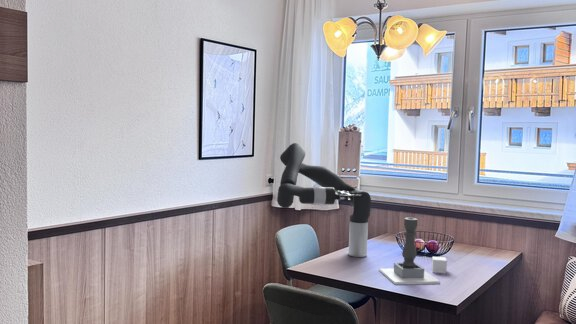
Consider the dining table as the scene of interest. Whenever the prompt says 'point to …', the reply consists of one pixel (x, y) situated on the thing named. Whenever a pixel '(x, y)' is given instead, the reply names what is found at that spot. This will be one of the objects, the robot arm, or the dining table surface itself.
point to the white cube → (439, 264)
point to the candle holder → (409, 243)
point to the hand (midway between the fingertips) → (359, 195)
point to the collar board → (408, 275)
